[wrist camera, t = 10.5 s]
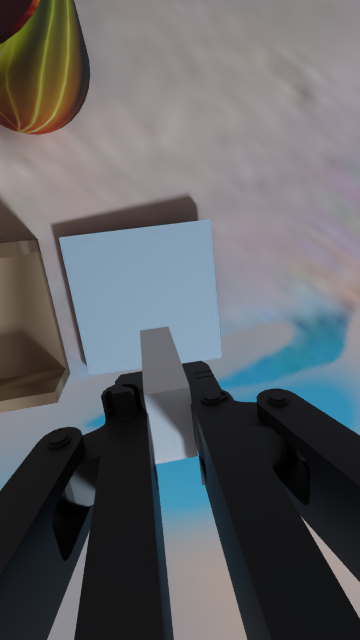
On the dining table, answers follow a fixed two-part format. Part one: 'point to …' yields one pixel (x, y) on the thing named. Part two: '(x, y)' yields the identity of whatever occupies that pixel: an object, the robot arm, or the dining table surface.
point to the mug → (41, 65)
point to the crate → (28, 331)
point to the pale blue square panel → (143, 292)
